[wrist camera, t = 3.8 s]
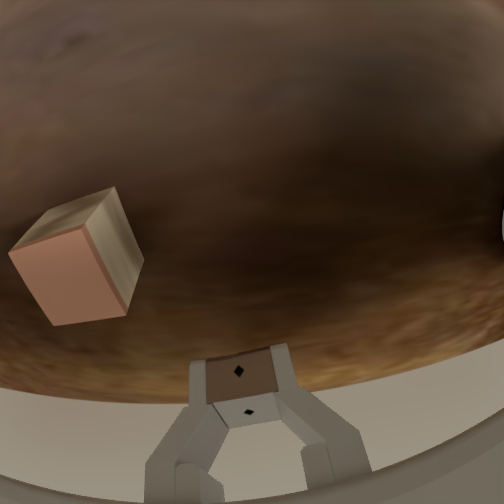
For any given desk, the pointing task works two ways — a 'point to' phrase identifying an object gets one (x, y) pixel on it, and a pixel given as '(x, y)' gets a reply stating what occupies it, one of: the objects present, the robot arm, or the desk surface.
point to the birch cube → (80, 259)
